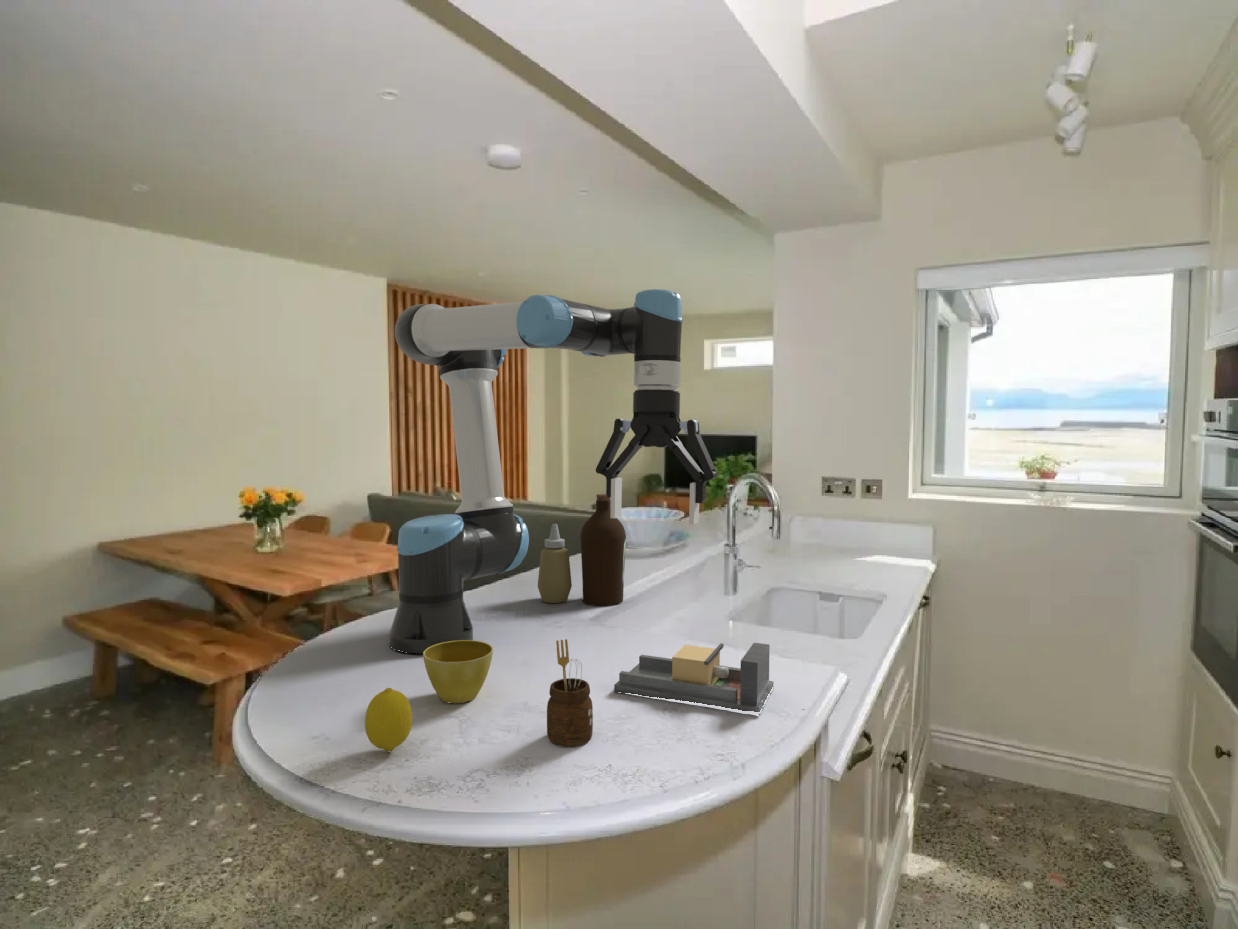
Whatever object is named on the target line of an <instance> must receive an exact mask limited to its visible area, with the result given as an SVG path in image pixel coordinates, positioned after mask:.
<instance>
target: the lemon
mask: <svg viewBox="0 0 1238 929" xmlns="http://www.w3.org/2000/svg"><path fill="white" fill-rule="evenodd" d="M364 718H365V720H364V728H365V734H366V736H367V738H368V741H369V742H370V743H371V744H372V745H373V746H374V747H376V748H378V749H382V750H384V751H385V752H386V751H391V752H393V751H394V749H395V748H398V747H399V746H401V745H402V744H403V743H404V742H405V741H406V740H407V739H408V737H409V736H410V732H411V730H412V725H413V711H412V707H411V704H410V701H409V698H408V697H407V696H406V695H405V694H404V693H402V692H401V691H399V690H396V689H393V688H392V687H386V688H384V690H383V691H380V692H379V693H377V694H376V695H375V696H374V697H372V699H371V700H370V702H369V703H368V706H367V709H366V712H365V717H364Z"/></svg>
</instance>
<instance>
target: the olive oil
mask: <svg viewBox="0 0 1238 929" xmlns="http://www.w3.org/2000/svg"><path fill="white" fill-rule="evenodd" d="M579 537H580V539H579V540H580V554H581V556H580V558H581V574H582V575H581V576H582V577H581V578H582V602H583V603H585V604H586V605H591V606H598V607H599V606H600V607H603V606H604V607H606V606H607V607H608V606H616V605H619V604H621V603H622V602H624V584H625V564H626V548H627V547H626V546H627V533H626V528H625V526H624V524H623V523H622V522H621V520H619V518H611V497H607V495H606V493H598V494H596V500H595V511H594V512H593V513H592V514H591V516H589V518H588V519H587V520H586V521H585V523H584V524H583V526H582V528H581V532H580V535H579Z"/></svg>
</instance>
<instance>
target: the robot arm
mask: <svg viewBox="0 0 1238 929" xmlns="http://www.w3.org/2000/svg"><path fill="white" fill-rule="evenodd" d="M634 300H635V301H634V303H633V306H630V307H624V308H616V309H613V308H611V309H610V308H605V307H600V306H597V305H591V304H587V303H580V302H577V301H572V300H568V299H564V298H561V297H557V296H555V295H546V294H545V295H543V294H532V295H530V296H528V297H527V298H526V299H525V300H523V301H517V302H516V301H515V302H513V301H512V302H503V303H492V304H479V305H470V306H469V305H468V306H467V305H466V306H460V307H448V306H442V305H439V304H436V303H428V304H427V303H426V304H425V303H421V304H414V305H412V306H409V307H407V308H406V309H405V310H403V311H402V312H401V314H399V316H398V318H397V319H396V322H395V325H394V336H395V341H396V343H397V345H398V347H399V349H400V351H401V352H402V353H403V354H404V355H405V356H407V357H408V358H409V359H410V360H413V361H415V362H417V363H420V364H423V365H428V366H429V365H430V366H437V367H438V368H439V378H440V380H441V381H442V382H443V383H445V384H446V385H447V386H448V388H449V389H448V390H449V399H450V407H451V415H452V416H451V417H452V426H453V436H454V444H455V445H454V446H455V453H456V454H455V455H456V462H457V470H458V471H457V472H458V478H459V479H458V480H459V487H460V488H459V489H460V498H461V503H460V505H459V506H458V508H456V510H455V512H454V514H453V513H443V514H442V513H441V514H436V515H430V514H429V515H425V516H421V517H417V518H414V519H411V520H409V521H406V522H404V524H402V525H401V527H400V528H399V531H398V536H397V537H398V539H397V547H396V550H397V556H398V558H397V560H398V562H397V563H398V564H397V565H398V568H397V569H398V572H397V573H398V605H397V608H396V612H395V615H394V618H393V621H392V624H391V627H390V630H389V634H388V635H389V637H388V638H389V644H390V645H389V647H390V646H391V647H392V648H394V649H395V650H400V651H403V652H407V653H406V654H408V653H416V654H415V655H423V652H424V651H425V650H426V649H427V648H429V647H431V646H433V645H435V644H439V643H443V642H449V641H457V640H474V628H473V624H472V621H471V618H470V615H469V613H468V609H467V607H466V604H465V601H464V581H468V580H473V579H477V578H482V577H487V576H492V575H500V574H504V573H505V572H508V571H512V570H514V569H516V568H518V566H520V565H521V563H522V562H523V560H524V559H525V557H526V554H527V553H528V550H529V549H528V548H529V544H530V537H529V536H530V535H529V529H528V526H527V524H526V523H525V522H524V520H523V518H522V517H520V516H519V515H517V514H515V512H514V511H515V510H514V504H513V503H511V502H510V501H509V500H508V499H507V498H506V497H505V491H504V488H505V487H504V480H503V473H502V465H501V464H502V463H501V456H500V445H499V437H498V428H497V420H496V411H495V404H494V402H495V401H494V393H493V385H492V384H493V383H492V382H493V381H494V380H495V378H496V377H497V376H498V374H499V372H498V368H499V367H500V366H501V365H502V364H503V363H504V361H505V356H506V355H507V350H519V349H561V350H572V351H575V352H576V351H577V352H581V353H582V355H584V356H589V357H591V356H592V357H599V358H601V357H606V356H615V355H617V356H618V355H626V354H627V355H628V354H629V355H630V354H633V357H634V358H633V359H634V360H633V386H634V387H635V388H637V389H635V390H634V392H633V393H632V395H633V396H632V397H633V398H632V412H633V413H632V414H633V416H632V420H628V419H626V418H615V420H614V425H613V432H612V434H611V436H610V438H609V440H608V442H607V444H606V446H605V449H604V451H603V452H602V454H601V457H600V459H599V461H598V463H597V465H596V468H595V472H596V474H598V475H599V474H600V475H601V476H604V477H605V480H606V481H605V483H606V486H605V487H606V488H605V489H606V492H605V494H606V495H607V497H610V500H611V505H610V510H611V518H617V519H619V518H621V517H622V504H623V502H622V498H623V497H622V496H623V494H622V493H623V478H622V477H619V476H620V475H619V474H620V473H621V472H622V471H623V470H624V469H625V467H626V466H627V465H628V464H629V462H630V461H631V460H632V459H633V457H634V456H635V455H636V454H637V453H638V452H639V450H641V449H642V448H643V447H644V448H652V447H653V448H654V447H656V448H667V447H668V449H669V450H670V451H672V453H674V455H675V457H676V458H677V459H678V460H679V462H680V463H681V464H682V466H683V467H684V468H685V470H686V471H687V472H688V473H689V475H690V476H691V477H692V479H693V481H694V482H690V483H689V504H688V505H689V509H688V510H689V511H688V514H689V515H688V516H689V517H688V525H690V526H691V525H692V526H694V525H697V524H699V522H700V504H704V503H705V501H706V488H707V487H706V485H707V483H708V481H712V480H714V479H716V478H718V474H719V473H718V472H717V469H716V467H715V465H714V461H712V458H711V455H710V454H709V451H708V449H707V446H706V445H705V442H704V441H703V438H702V435H701V432H700V431H701V430H700V423H699V422H700V421H699V420H697V419H688V420H686V421H681V419H680V414H681V412H680V411H681V392H680V391H679V390H677V388H680V387H681V376H682V375H681V370H682V369H681V368H682V367H681V366H682V365H681V364H682V363H681V358H682V357H681V347H682V328H683V314H682V313H683V312H682V297H681V296H680V294H679V293H677V292H676V291H673V290H670V289H669V290H668V289H659V288H658V289H656V288H655V289H646V290H645V289H644V290H642V291H639V292H637V293H636V294H635V297H634ZM630 429H631V431H632V432H633V434H634V436H632V438H631V440H630V441H629V442H628V445H627V446H626V447H625V448H624V449H623V451H622V452H621V453H620V455H618V457H616V459H615V456H616V455H617V453H618V451H619V449H620V447H621V444H622V443H623V440H624V438H625V436H626V433H628V432H629V430H630ZM682 430H683V432H684V434H686V435H687V436H688V439H689V442H690V443H691V446H692V448H693V451H694V453H695V455H696V458H697V460H698V462H699V463H700V466H701V467H700V466H699V465H698V463H697V462H696V461H695V459H694V458H693V457H692V456H691V455H690V453H689V452H688V451H687V449H686V448H685V446H684V445H683V443H682V441H681V440H680V439H679V437H678V435H679V434H680V432H681V431H682ZM614 459H615V461H614ZM613 461H614V462H613ZM391 647H390V648H391ZM392 648H391V649H392ZM395 650H394V651H395ZM417 653H419V654H417ZM421 653H422V654H421Z"/></svg>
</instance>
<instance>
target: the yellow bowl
mask: <svg viewBox="0 0 1238 929" xmlns="http://www.w3.org/2000/svg"><path fill="white" fill-rule="evenodd" d="M493 652H494V647H493V646H492V645H491V644H490V643H488V642H485V641H480V640H474V639H473V640H457V641H449V642H443V643H439V644H435V645H433V646H431V647H429V648H427V649H426V650H425V651H424V652H423V654H422V657H423V663H424V667H425V670H426V673H427V676H428V680H429V681H430V683H431V685H432V687H433V690H434V691H435V693H436V694H437V697H439V699H440V700H441V699H442V700H443V701H445V702H450V703H462V704H464V703H463V702H467V701H470V700H472V699H473V700H475V699H476V698H477V696H478V694H479V693H480V691H481V689H482V688H483V685H484V684H485V682H486V679H487V677H488V674H489V670H490V667H491V664H492V659H493ZM442 700H441V701H442ZM473 700H472V701H473ZM443 701H442V702H443ZM445 702H444V703H445ZM470 702H471V701H470ZM467 703H468V702H467Z"/></svg>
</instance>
